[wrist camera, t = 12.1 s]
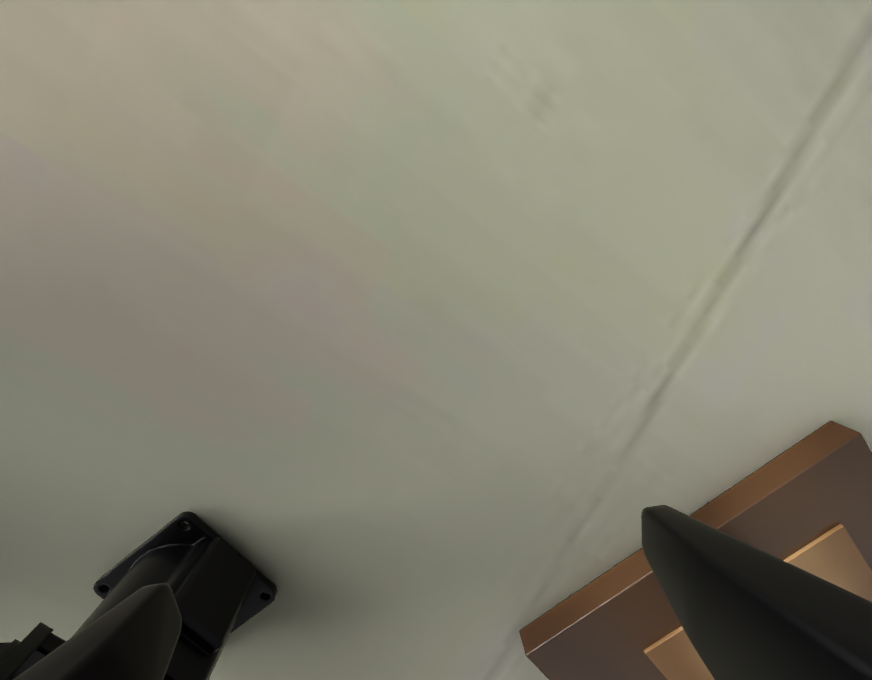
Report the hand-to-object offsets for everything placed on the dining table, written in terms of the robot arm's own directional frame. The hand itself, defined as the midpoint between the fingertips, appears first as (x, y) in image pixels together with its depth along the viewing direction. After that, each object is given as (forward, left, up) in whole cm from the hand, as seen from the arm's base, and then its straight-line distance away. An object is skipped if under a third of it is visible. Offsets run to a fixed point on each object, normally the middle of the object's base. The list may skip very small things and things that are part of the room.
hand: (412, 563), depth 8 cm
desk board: (+5, -24, -12) cm, 27 cm away
